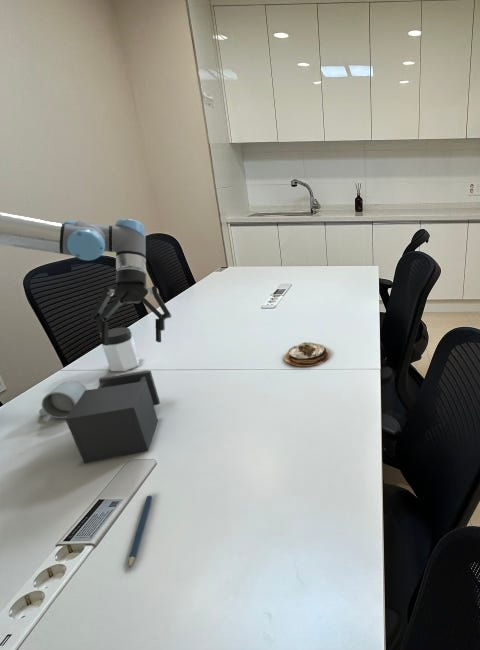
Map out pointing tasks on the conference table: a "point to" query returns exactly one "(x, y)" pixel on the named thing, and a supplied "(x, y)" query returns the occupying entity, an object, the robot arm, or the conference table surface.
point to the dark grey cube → (113, 421)
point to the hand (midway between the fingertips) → (132, 343)
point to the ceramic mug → (62, 399)
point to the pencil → (139, 530)
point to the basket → (132, 378)
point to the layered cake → (307, 354)
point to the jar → (121, 350)
